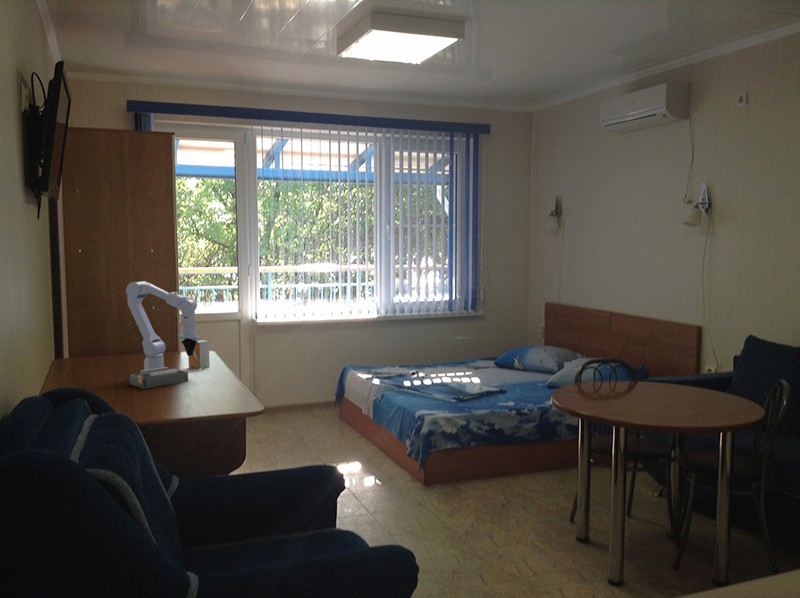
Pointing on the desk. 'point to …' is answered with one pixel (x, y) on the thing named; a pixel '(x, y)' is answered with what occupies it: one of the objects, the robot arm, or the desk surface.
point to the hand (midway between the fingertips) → (190, 355)
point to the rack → (157, 378)
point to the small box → (200, 355)
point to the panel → (163, 373)
